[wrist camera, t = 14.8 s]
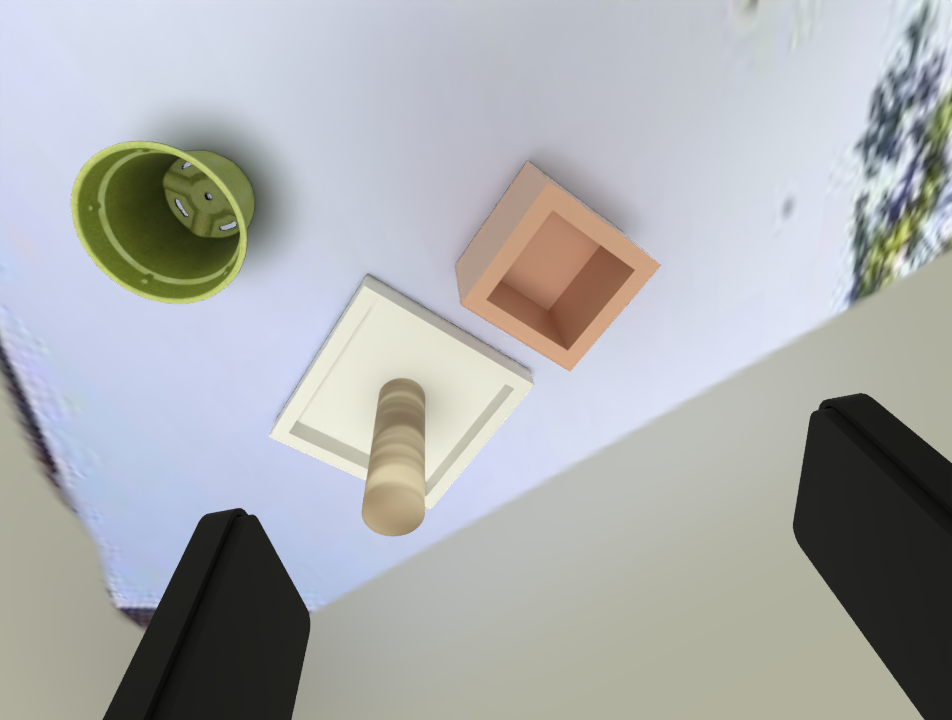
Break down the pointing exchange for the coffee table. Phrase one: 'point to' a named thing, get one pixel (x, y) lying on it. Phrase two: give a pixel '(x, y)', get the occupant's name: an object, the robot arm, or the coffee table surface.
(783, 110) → the coffee table surface
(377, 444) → the birch dowel
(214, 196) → the plant pot
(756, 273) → the coffee table surface
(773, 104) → the coffee table surface
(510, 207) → the terracotta cup
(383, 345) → the cream tray
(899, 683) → the robot arm
